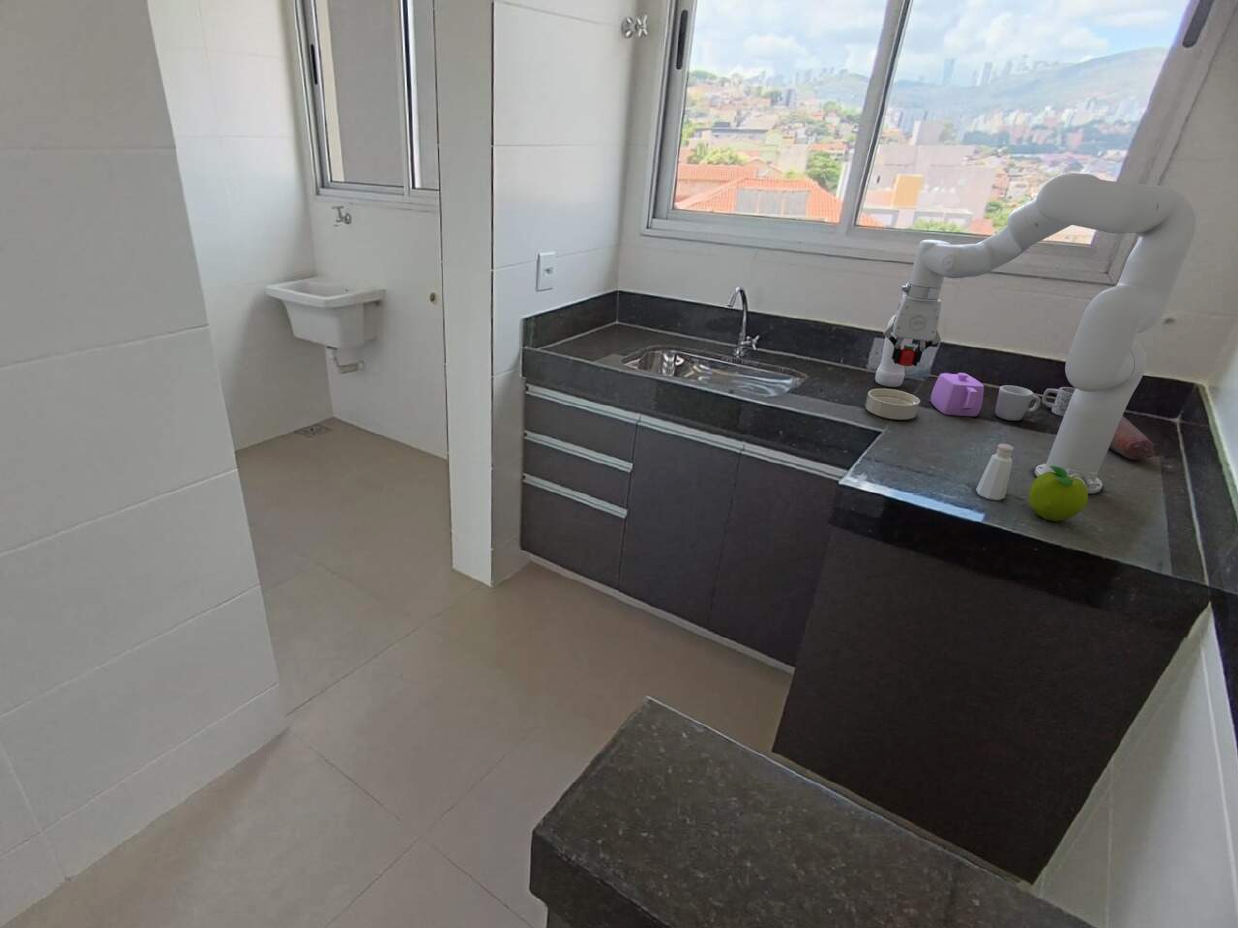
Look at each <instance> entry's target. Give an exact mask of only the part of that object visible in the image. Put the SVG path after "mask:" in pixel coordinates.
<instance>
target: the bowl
mask: <svg viewBox="0 0 1238 928" xmlns="http://www.w3.org/2000/svg"><path fill="white" fill-rule="evenodd" d="M920 405H921V400H920V398H919V397H918V396H915V395H914V394H911V393H909V392H906V391H903V390H898V389H892V388H874V389H870V390H869V391H868V392H867V394H866V400H865V404H864V407H865V409H866V410H867V411H868V412H870V413H871V414H873V415H874V416H878V417H879V418H880V417H881V418H884V419H889V420H893V421H895V420H896V421H903V420H911V419H915V418H916V416H918V413H919V408H920Z"/></svg>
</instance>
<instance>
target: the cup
mask: <svg viewBox="0 0 1238 928" xmlns="http://www.w3.org/2000/svg"><path fill="white" fill-rule="evenodd" d="M1033 400H1035V403H1034V405H1033V406H1032V407H1030V408H1029V405H1030V403H1031V402H1032V401H1033ZM1040 405H1041V398H1040V396H1038V395H1036V394H1034V392H1033V391H1032V390H1030V389H1028V388H1025V387H1022V386H1017V385H1010V384H1009V385H1001V386H1000V387H999V390H998V395H997V400H996V404H995V410H994V411H995V416H996V417H998V418H1000V419H1002V420H1006V421H1011V422H1016V421H1021V420H1022V418H1023V417H1024V415H1025V414H1026V413H1033V412H1036V411H1037V410H1038V408H1039V407H1040Z"/></svg>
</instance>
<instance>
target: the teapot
mask: <svg viewBox="0 0 1238 928" xmlns="http://www.w3.org/2000/svg"><path fill="white" fill-rule="evenodd" d="M984 393H985V385H984V384H983V383H981V381H979V380H978V379H976V378H975V377H973V376H971V375H969V374H968V373H966V372H958V373H955V374H954V373H950V372H943V373H940V374H939V376H938V377H937V379H936V381H935V384H934V386H933V388H932V391H931V394H930V403H931V404H932V406H933V407H935V409H937V410H938V411H940V412H941V413H942V414H944V415H945V416H946V415H947V416H959V417H960V416H961V417H977V416H978V415H979V413H981V410H982V407H983V406H982V405H983V401H984Z"/></svg>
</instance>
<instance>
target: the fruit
mask: <svg viewBox="0 0 1238 928" xmlns="http://www.w3.org/2000/svg"><path fill="white" fill-rule="evenodd" d="M1050 467H1051V468H1052V469H1053V470H1054V472H1056V473H1054V472H1045V473H1043V474H1041V475H1040V476H1038V477H1037V476H1036V478H1034V480H1032V483H1031V484H1030V487H1029V491H1028V501H1029V505H1030V507H1031V510H1033V511H1034V513H1035V514H1036V515H1038V516H1039V517H1041V518H1043V519H1044V520H1045V521H1051V522H1061V521H1066V520H1069V519H1072V518H1074V517H1076V516H1077V515H1078V514H1080V513H1081V512H1082V511H1083V510H1084V509H1085V507H1086V506H1087V503H1088V502H1089V494H1088V492H1087V489H1086V487H1085V485H1084V483H1083V482H1082V481H1081V480H1080V479H1078V478H1074V477H1069V476H1067V472H1066V471H1065V470H1064V469H1062V468H1060V467H1057V466H1050Z"/></svg>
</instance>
